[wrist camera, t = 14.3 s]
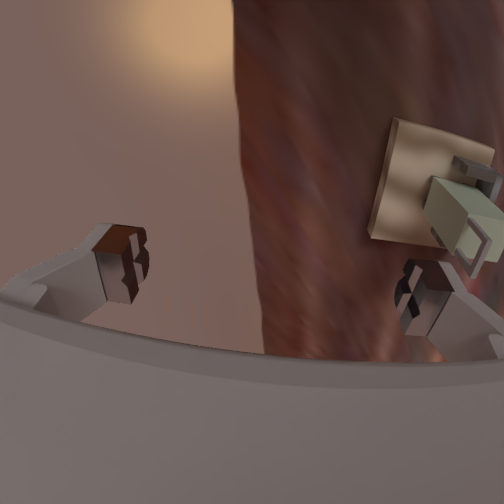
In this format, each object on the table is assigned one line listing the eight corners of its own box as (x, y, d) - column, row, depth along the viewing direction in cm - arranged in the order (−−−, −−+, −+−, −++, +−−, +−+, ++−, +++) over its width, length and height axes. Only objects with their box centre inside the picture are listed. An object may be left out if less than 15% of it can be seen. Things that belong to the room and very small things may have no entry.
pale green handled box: (428, 172, 35) (488, 236, 22) (470, 182, 35) (534, 246, 22) (418, 207, 38) (467, 281, 25) (459, 215, 38) (513, 286, 25)
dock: (392, 117, 34) (411, 128, 29) (485, 144, 34) (511, 160, 28) (367, 228, 43) (377, 255, 38) (453, 241, 43) (470, 266, 37)
